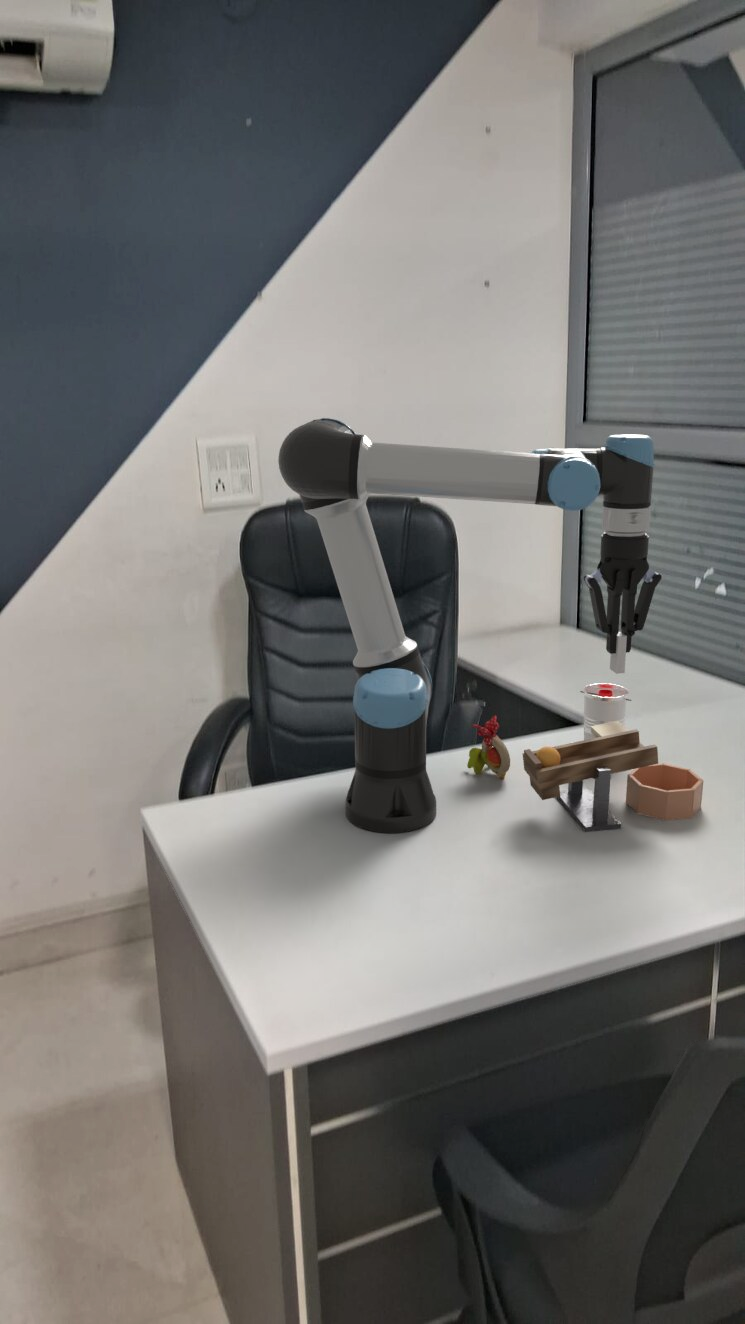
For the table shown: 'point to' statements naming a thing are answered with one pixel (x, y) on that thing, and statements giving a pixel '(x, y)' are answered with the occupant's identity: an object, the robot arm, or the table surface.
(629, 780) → the terracotta octagonal bowl
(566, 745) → the lever
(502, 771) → the bird rattle
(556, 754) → the ball
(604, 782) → the lever stand
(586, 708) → the white ridged hollow cylinder
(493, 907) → the table surface
